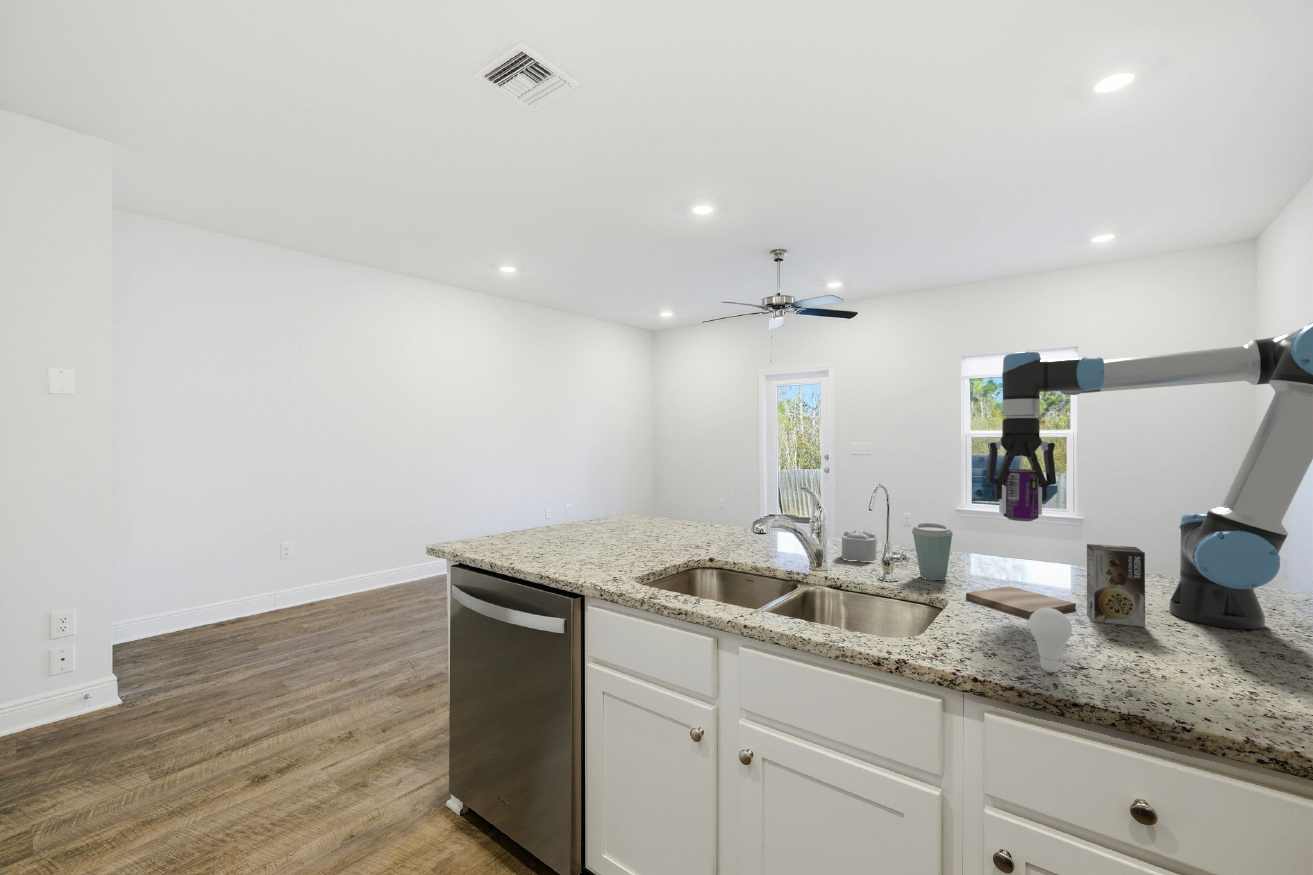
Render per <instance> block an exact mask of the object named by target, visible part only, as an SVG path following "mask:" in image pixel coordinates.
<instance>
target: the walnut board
mask: <svg viewBox="0 0 1313 875" xmlns="http://www.w3.org/2000/svg"><path fill="white" fill-rule="evenodd" d="M965 599H966V600H968V601H970V602H971V601H972V602H974V603H978V604H981V605H984V606H987V607H990V608H995V609H997V610H1001V611H1005V612H1008V613H1011V614H1014V615H1017V616H1021V617H1024V618H1028V619H1030V616H1031V615H1032V614H1033V613H1034V612H1035V611H1036V610H1038V609H1041V608H1052V609H1055V610H1058V611H1060V612H1061V613H1067V612H1071V611H1076V608H1077V607H1076V606H1077V605H1076V604H1077V603H1076V602H1071V601H1068V600H1064V599H1061V598H1057V597H1054V596H1048V595H1046V594H1042V593H1037V592H1033V591H1030V590H1026V589H1022V588H1018V587H1014V586H1010V585H1009V586H1002V587H995V588H989V589H984V590H975V591H970V592H966V593H965Z"/></svg>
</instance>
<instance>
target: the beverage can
mask: <svg viewBox="0 0 1313 875" xmlns="http://www.w3.org/2000/svg"><path fill="white" fill-rule="evenodd" d="M1003 486H1006V514H1004V513H1002V515H1003V516H1004V517H1005V518H1006V519H1008V520H1011V521H1017V522H1033V521H1035V520H1037V519H1039V515H1038V487H1039V478H1038V476H1037V474H1036V470H1032V469H1028V468H1023V469H1022V468H1009V470H1008V472H1007V475H1006V477H1005V480H1004V482H1003Z"/></svg>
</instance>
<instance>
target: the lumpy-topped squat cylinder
mask: <svg viewBox="0 0 1313 875" xmlns="http://www.w3.org/2000/svg"><path fill="white" fill-rule="evenodd" d="M842 558H844V559H847V560H857V561H874V560H876V561H877V536H876V534H875V533H874V532H868V530H863V531H862V532H860V531H859V529H854V531H853V532H851V531H850V530H845V531H844V533H843V535H842V537H841V559H842Z"/></svg>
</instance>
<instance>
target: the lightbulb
mask: <svg viewBox="0 0 1313 875" xmlns="http://www.w3.org/2000/svg"><path fill="white" fill-rule="evenodd" d="M1028 619H1029V620H1028V627H1029V631H1030V633H1031V635H1032V636H1033V638H1034V640H1035V642H1036V644H1037V649H1038V655H1039V657H1040V658H1039V662H1040V667H1041V668H1042V669H1043V670H1045V672H1046V673H1050V674H1052V673H1054V672H1057V671H1058V670H1059V666H1060V665H1059V664H1060V659H1061V657H1062V652H1063V648H1064V646H1065V645H1066V643H1067V642H1068V641H1069V639H1070V638H1071V635H1072V633H1073V629H1072V624H1071V623H1072V622H1070V620H1069V618H1068V617H1067V616H1066V615H1065V613H1064V612H1062V613H1061V612H1060V611H1058V610H1055V609H1052V608H1041V609H1038V610H1036V611H1035V612H1034V613H1033V614H1032V615H1031V616H1030V618H1028Z"/></svg>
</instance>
